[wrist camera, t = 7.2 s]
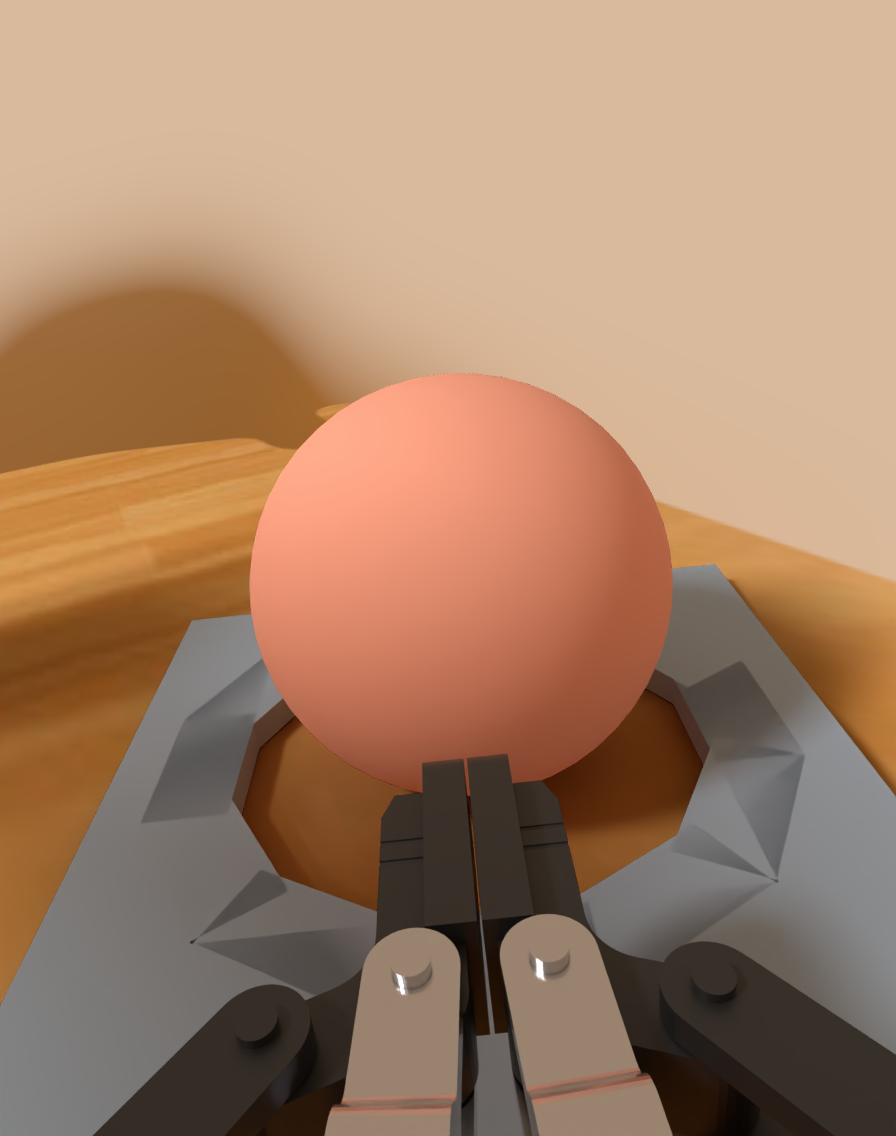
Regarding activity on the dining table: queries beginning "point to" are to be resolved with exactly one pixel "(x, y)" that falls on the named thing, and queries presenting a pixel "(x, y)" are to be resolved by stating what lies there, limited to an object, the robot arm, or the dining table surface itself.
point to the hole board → (612, 908)
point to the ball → (460, 580)
